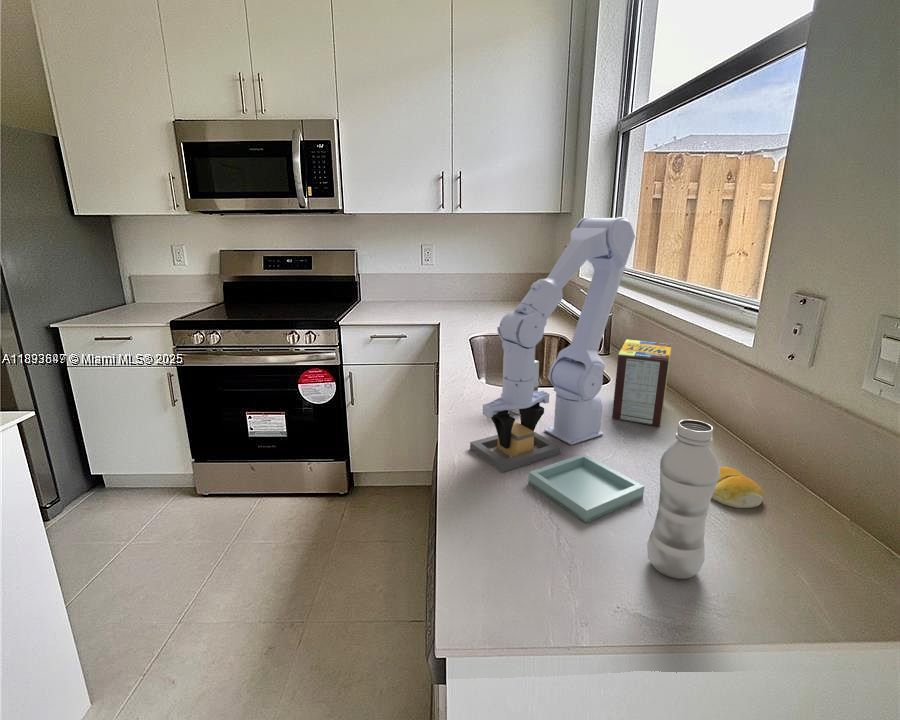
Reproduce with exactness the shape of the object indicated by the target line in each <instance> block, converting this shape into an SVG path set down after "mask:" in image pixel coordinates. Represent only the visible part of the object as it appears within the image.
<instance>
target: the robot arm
mask: <svg viewBox="0 0 900 720" xmlns="http://www.w3.org/2000/svg"><path fill="white" fill-rule="evenodd" d="M569 235H570V237H569V239H570V242H569V243H568V245H567V246H566V247H565V249H564V251H563V252H562V253H561V254H560V257H559V258H558V259H557V262H556V263H555V265H554V266H553V268H552V269H551V271H550V273H549V274H548V275H547V277H546V278H539V279H538V280H536V281H534V282H533V283H532V285H530V289H529V291H528V292H527V294H526V295H525V296H524V297H523V298H522V300H521V301H520V303H518V304H517V306H516V307H515V310H512V311H510V312H507V313H506V314H505V315H504V316H503V317H502V319H501V320H500V323H499V326H497V329H496V330H497V331H496V332H497V334H498V336H499V338H500V340H501V347H502V350H503V357H502V358H503V360H502V362H503V363H502V389H501V390H502V392H501V394H500V397H497V398H496V399H493V400H492V401H490V402H488V403H484V404H482V415H483V416H485V417H487V418H489V419H490V418H491V420H492V422H493V425H494V427H495V429H496V433H497V435H498V437H499V442H500V445H501V446H502V447H504V448H505V449H508V448H509V447H510V440H511V431H512V427H513V424H514V421H516V418H514V417H513V416H511V414H510V413H509V412H511V410H515V409H519V412H520V414H519V418H520V424H521V425H523V426H525V427H527V428H529V429H530V430H532V431H534V432H535V429H536V427H537V424H538V423H539V421H540V419H541V418H542V416H543V415H544V414H545V408H544V407H543V406H541V404H542V403H543V404H549V403H550V393H548V392H546V391H544V390H540V391H539V390H538V392H533V383H534V363H535V360H536V346H537V345H538V344H539V343H540V341H542V339H543V337H544V333H545V327H546V325H547V322H548V321H547V320H548V319H549V317H550V316H551V315H552V313H553V312H554V311H555V309H556V308H557V307H558V305H559V304H560V303H561V301H563V298H564V294H563V288H564V287H565V286H566V285H567V283H569V281H570V280H571V279H572V278H573V277H574V276H575V275H576V273H577V272H578V271H579V270H580V268H581V267H582V266H583V265H584V264H585V263H586V262H588V263H590V264H591V266H592V268H593V271H594V272H593V274H592V278H591V280H590V284H589V286H588V287H589V288H588V289H587V293H586V297H585V300H584V303H583V304H582V309H581V312H580V314H579V315H580V316H579V318H578V321H577V324H576V327H575V330H574V333H573V336H572V339H571V343H570V344H569V345H568V346H567V347H564V348H563V349H561V350H560V351H558V354H557V357H556V359H555V360H554V362H553V363H552V365H551V366H550V368H549V372H548V379H549V382H550V384H551V386H553V391H554V392H555V403H554V420H553V426H550V427H546V428H544V432H545V433H548V434H550V435H552V436H554V437H555V438H557V439H559V440H561V441H563V442H565V443H566V444H568V445H575V444H578V443H581V442H585V441H588V440H590V439H594V438H596V437H600V436H603V435H604V433H603V431H601V422H602V411H603V402H602V399H601V397H600V395H599V393H600V391H601V389H602V387H603V382H604V378H603V377H604V376H603V375H604V371H605V367H606V364H605V362H603V360H602V358H601V357H600V355H599V354H598V350H599V348H600V346H601V345H600V344H601V342H602V339H603V336H604V333H605V329H606V327H607V324H608V321H609V318H610V315H611V312H612V308H613V305H614V304H615V303H614V302H615V299H616V296H617V292H618V290H619V286H620V284H621V281H622V277H623V275H624V272H625V269H626V264H627V262H628V259H629V256H630V253H631V250H632V248H633V244H634V241H635V237H636V235H635V231H634V229H633V227H632V223H631V221H630V220H629V219H628V218H627V217H625V216H624V217H623V216H618V217H592V218H591V217H589V216H588V217H587V216H586V217H582V218H581V219H579V221H578V222H577V223H576V225H575V227H574V228H573V229H572V230H571V231H570V234H569ZM578 362H579V363H578ZM580 362H581V363H583V364H581V363H580Z"/></svg>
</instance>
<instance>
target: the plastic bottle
mask: <svg viewBox="0 0 900 720" xmlns="http://www.w3.org/2000/svg"><path fill="white" fill-rule="evenodd" d="M713 433H714V427H713V426H712V425H711V424H710V423H707V422H705V421H701V420H696V419H681V420H680V421H679V422H678V423H677V431H675V439H676V440H677V441H675V442H674V443H673V444H672V445H670V446H669V447H668V448H667V449H666V450H665V451H664V452H663V454H662V456H661V458H660V459H659V460H660V463H659V464H660V466H659V483H660V484H659V498H658V499H659V501H658V508H657V512H656V517H655V520H654V524H653V527H652V529H651V532H650V534H649V537H648V540H647V543H646V551H647V554H646V555H647V558H648V560H649V562H650V563H651V565H652V567H653V568H654V569H655V570H656V571H658V572H659V573H661V574H662V575H664V576H666V577H669V578H673V579H678V580H686V579H691V578H693V577H694V576H695V575H697V574H699V572H700V571H701V570H702V568H703V564H704V562H705V559H706V558H705V552H706V551H705V549H706V548H705V531H706V519H707V516H708V511H709V508H710V503H711V500H712V499H713V498H712V495H713V492H714V490H715V487H716V485H717V482H718V479H719V476H720V467H721V466H720V463H719V462H720V461H718V459H717V456H716V454H715V453H714V452H713V450H712V449H711V447H710V446H711V445H712V444H713V442H714V439H713Z"/></svg>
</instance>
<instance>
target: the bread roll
mask: <svg viewBox="0 0 900 720" xmlns="http://www.w3.org/2000/svg"><path fill="white" fill-rule="evenodd" d="M764 497H765V496H764V491H763V488H761V486H760V485H759V484H758V483H757V482H756V481H755V480H753V479H751V478H750V477H747V476H745V474H743V473H742V472H741V471H739V469H735V468H732V467H729V466H720V476H719V479H718V482H717V485H716V487H715V490H714V492H713V495H712V498H711V499H713V500H714V501H716V502H718V503H720V504H722V505H725V506H728V507H731V508H736V509H750V508H751V509H752V508H757V507H759V506H760V505H761V504H762V502H763V499H764Z"/></svg>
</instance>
